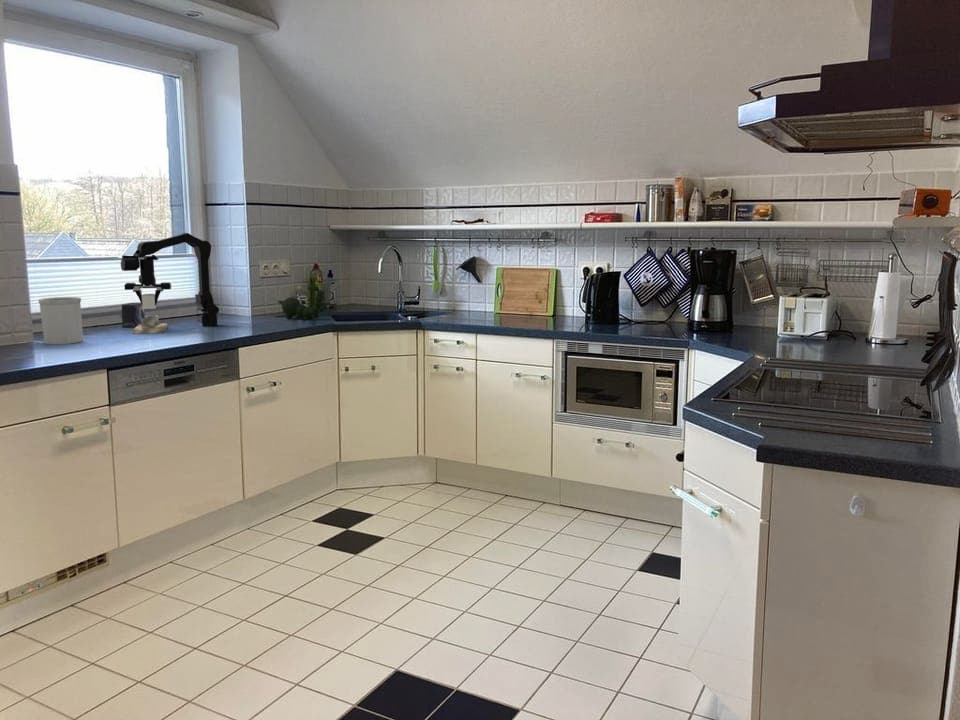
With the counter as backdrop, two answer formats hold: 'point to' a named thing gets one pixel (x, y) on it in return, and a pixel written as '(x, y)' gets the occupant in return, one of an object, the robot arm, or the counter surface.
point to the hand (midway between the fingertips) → (149, 305)
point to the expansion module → (148, 301)
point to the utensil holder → (61, 320)
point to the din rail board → (156, 330)
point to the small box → (132, 314)
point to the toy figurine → (303, 306)
